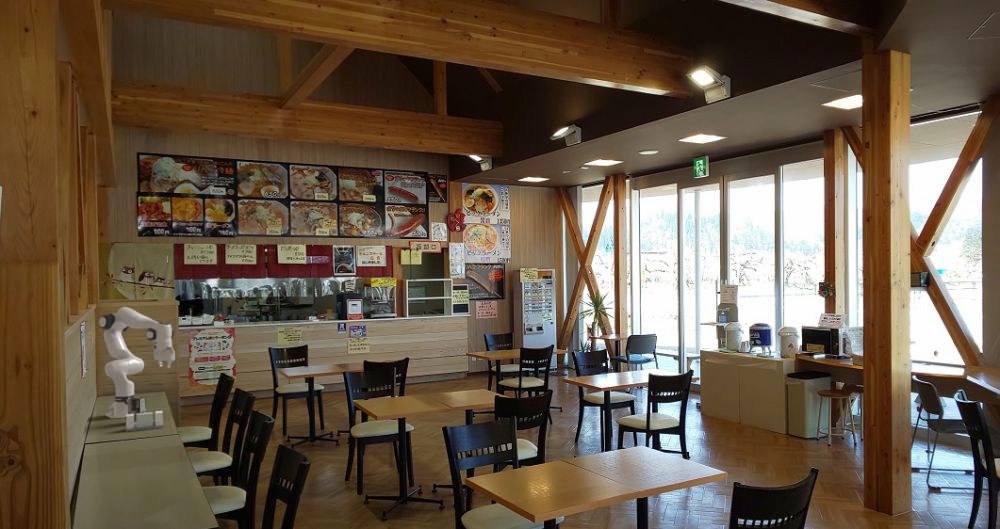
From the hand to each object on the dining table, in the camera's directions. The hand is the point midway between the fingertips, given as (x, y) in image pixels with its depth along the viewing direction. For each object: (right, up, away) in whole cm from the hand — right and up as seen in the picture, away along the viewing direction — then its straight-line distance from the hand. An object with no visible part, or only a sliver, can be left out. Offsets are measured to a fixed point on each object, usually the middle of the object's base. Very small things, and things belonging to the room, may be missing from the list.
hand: (164, 367), depth 445 cm
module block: (-1, -34, -23) cm, 41 cm away
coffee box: (-15, -36, -6) cm, 39 cm away
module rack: (-1, -35, -23) cm, 42 cm away
